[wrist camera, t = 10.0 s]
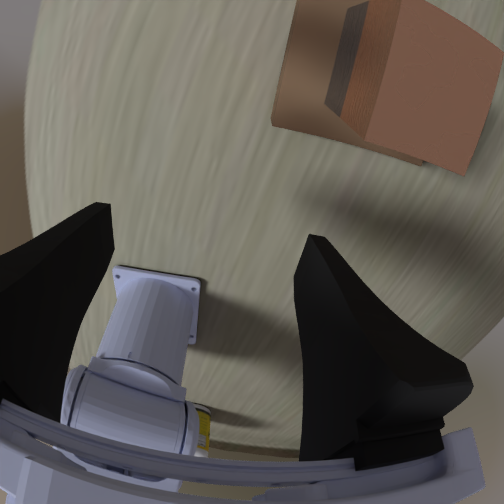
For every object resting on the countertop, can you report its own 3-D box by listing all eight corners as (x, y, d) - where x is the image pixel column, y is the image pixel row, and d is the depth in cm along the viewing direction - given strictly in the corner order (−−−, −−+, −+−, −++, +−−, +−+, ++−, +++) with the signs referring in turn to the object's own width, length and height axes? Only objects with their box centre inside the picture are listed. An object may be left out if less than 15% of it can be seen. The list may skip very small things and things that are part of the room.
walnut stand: (408, 155, 19) (421, 166, 17) (270, 118, 18) (272, 126, 16) (446, 31, 13) (462, 32, 11) (302, -27, 12) (308, -35, 10)
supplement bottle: (199, 418, 47) (193, 477, 38) (167, 407, 44) (157, 469, 36) (219, 409, 44) (214, 474, 35) (184, 398, 41) (176, 466, 32)
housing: (425, 40, 12) (504, 52, 6) (400, 127, 16) (464, 176, 10) (347, 8, 12) (403, -10, 6) (324, 103, 15) (364, 140, 10)
